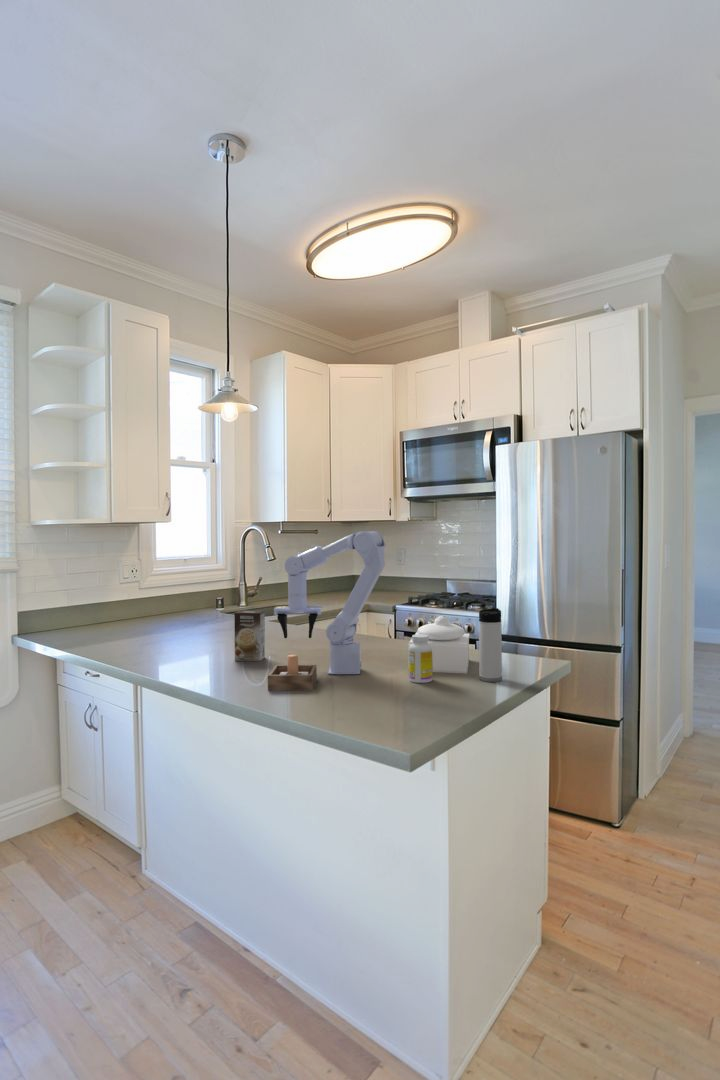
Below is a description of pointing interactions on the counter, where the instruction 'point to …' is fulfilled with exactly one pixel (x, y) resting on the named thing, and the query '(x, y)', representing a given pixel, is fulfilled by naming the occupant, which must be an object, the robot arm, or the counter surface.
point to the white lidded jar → (446, 646)
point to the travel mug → (490, 645)
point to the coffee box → (249, 635)
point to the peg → (292, 664)
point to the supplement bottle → (420, 659)
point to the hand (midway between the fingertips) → (298, 637)
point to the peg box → (292, 678)
